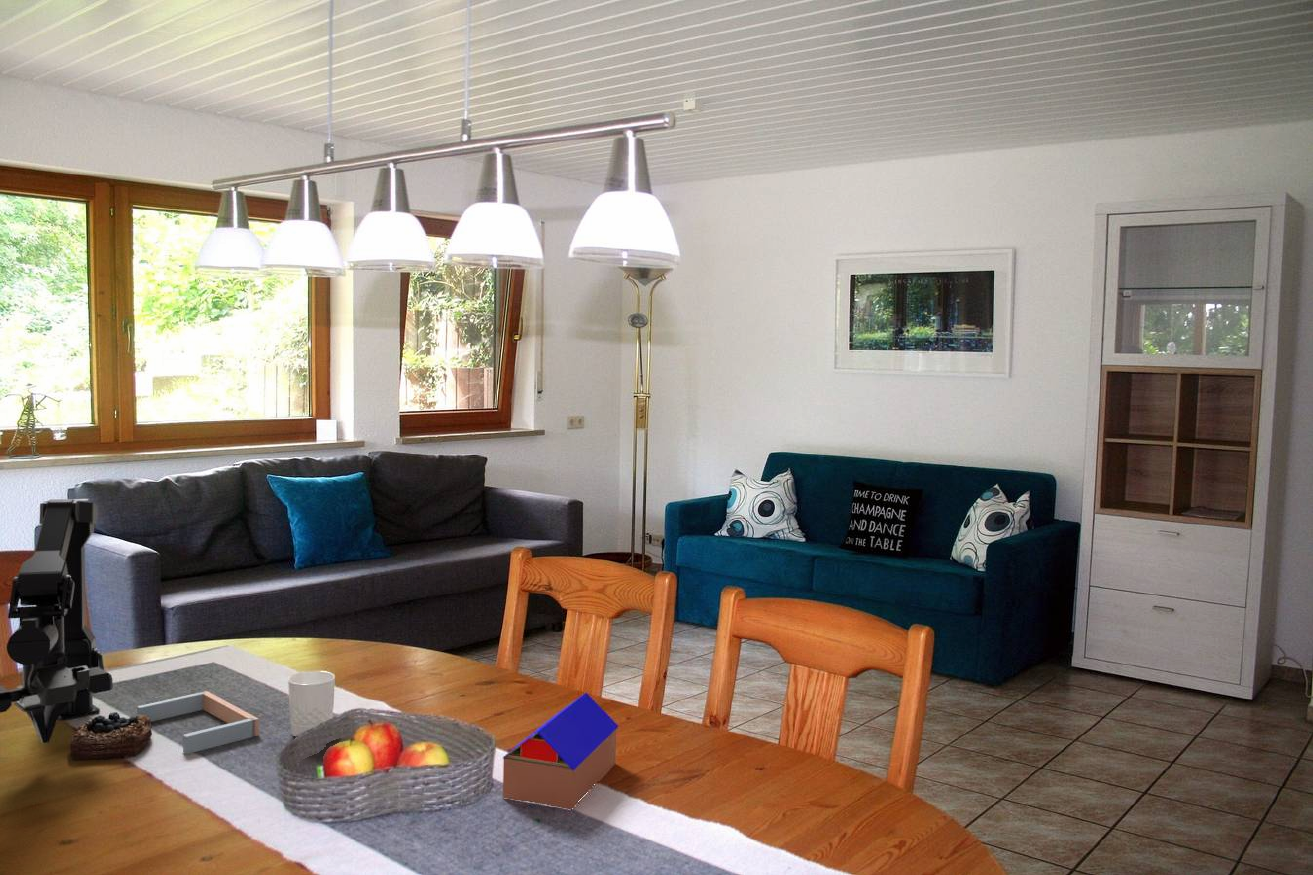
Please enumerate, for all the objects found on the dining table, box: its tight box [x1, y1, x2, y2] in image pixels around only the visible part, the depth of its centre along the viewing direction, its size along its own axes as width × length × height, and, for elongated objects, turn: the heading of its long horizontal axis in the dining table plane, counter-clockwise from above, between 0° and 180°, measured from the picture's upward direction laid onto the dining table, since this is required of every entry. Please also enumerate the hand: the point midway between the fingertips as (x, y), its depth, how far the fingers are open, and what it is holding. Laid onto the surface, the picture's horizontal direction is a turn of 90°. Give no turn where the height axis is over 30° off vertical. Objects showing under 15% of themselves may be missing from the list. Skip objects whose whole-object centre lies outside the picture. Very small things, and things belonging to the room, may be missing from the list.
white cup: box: [287, 670, 336, 737], centre depth 183 cm, size 8×8×10 cm
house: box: [502, 692, 619, 809], centre depth 165 cm, size 12×20×12 cm, turn 162°
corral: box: [136, 690, 260, 755], centre depth 183 cm, size 20×13×3 cm, turn 48°
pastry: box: [69, 711, 153, 761], centre depth 174 cm, size 11×12×6 cm
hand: (45, 742), depth 165 cm, fingers closed
